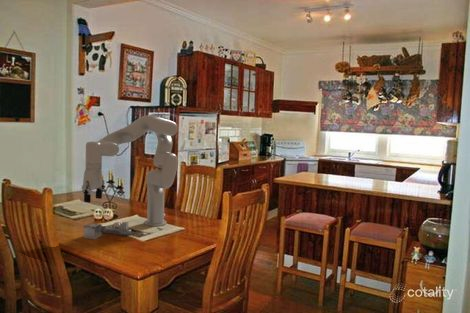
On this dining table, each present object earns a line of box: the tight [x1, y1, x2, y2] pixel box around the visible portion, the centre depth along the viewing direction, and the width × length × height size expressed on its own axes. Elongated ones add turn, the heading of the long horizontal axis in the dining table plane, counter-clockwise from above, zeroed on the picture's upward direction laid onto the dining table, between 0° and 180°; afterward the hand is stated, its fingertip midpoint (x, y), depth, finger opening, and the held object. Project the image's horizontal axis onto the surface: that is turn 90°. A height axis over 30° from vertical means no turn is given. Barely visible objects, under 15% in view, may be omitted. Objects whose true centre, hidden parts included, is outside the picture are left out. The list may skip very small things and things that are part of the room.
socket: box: [83, 222, 103, 240], centre depth 191 cm, size 6×6×6 cm
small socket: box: [113, 221, 122, 229], centre depth 205 cm, size 4×4×4 cm
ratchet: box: [102, 221, 133, 237], centre depth 199 cm, size 6×24×6 cm, turn 77°
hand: (93, 200), depth 190 cm, fingers open, 9 cm apart
